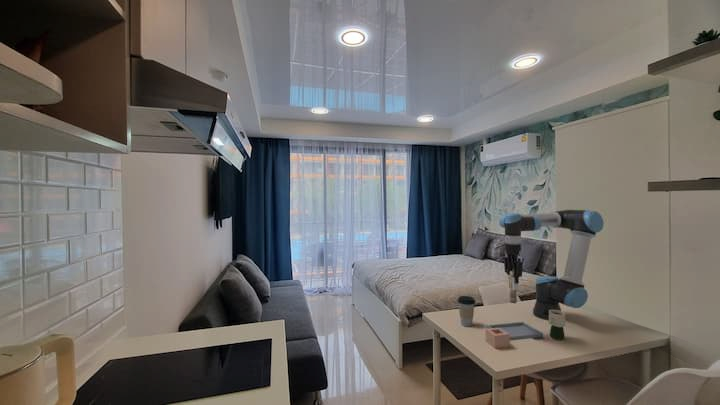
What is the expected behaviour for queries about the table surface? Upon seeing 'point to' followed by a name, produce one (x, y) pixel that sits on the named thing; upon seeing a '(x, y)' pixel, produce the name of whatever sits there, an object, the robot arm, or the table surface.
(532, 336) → the tray
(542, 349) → the table surface
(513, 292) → the dowel
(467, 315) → the coffee cup
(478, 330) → the table surface
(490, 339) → the pink square tube
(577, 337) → the table surface
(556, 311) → the character mug
